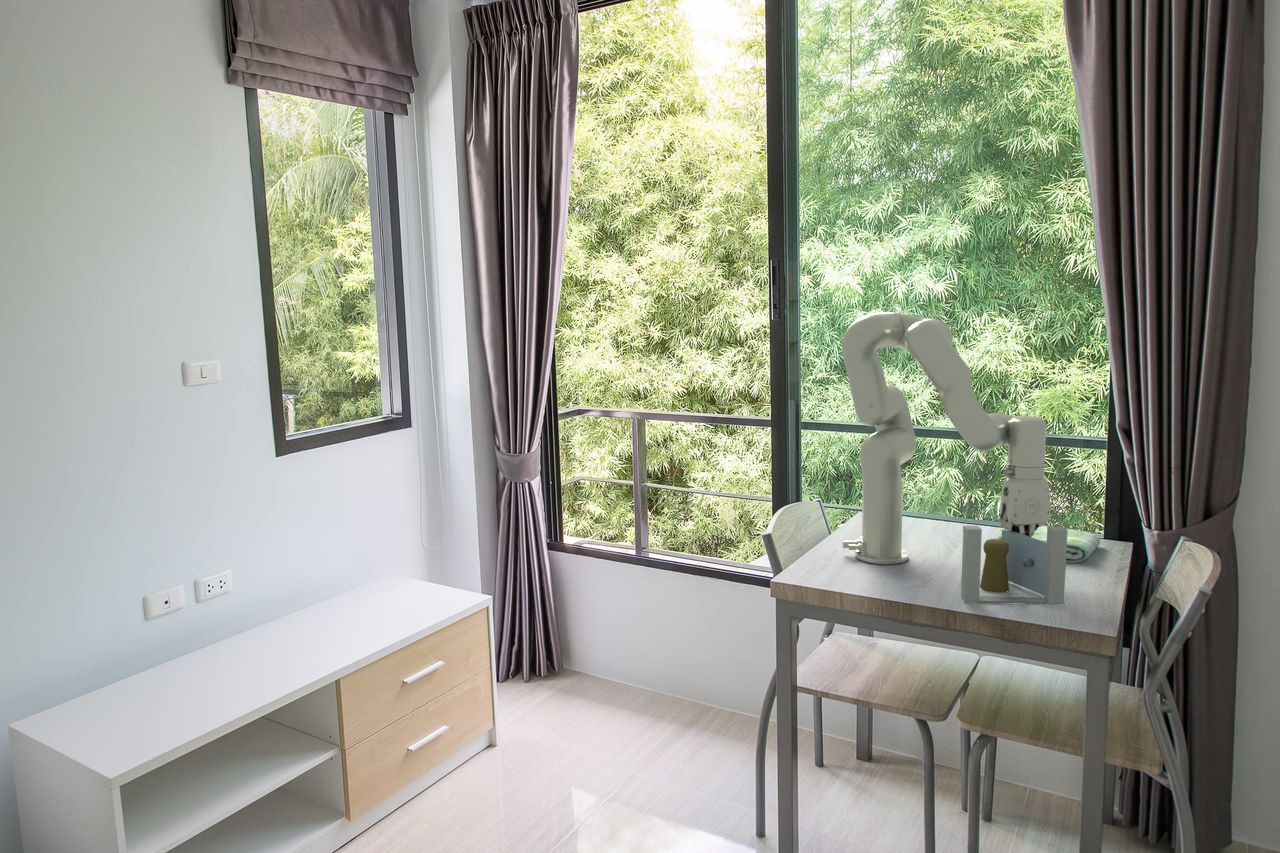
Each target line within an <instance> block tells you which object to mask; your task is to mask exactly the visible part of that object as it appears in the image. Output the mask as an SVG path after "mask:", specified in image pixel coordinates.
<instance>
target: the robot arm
mask: <svg viewBox="0 0 1280 853" xmlns="http://www.w3.org/2000/svg"><path fill="white" fill-rule="evenodd" d="M953 335H954V334H953V332H952V329H951V328H950V326H949V325H948V324H947V323H946V322H944V321H942V320H940V319H937V318H929V317H923V316H916V315H912V314H905V313H900V312H894V311H893V312H891V311H886V312H875V313H870V314H869V313H868V314H866V315H863V316H861V317H859V318H857V319H856V320H855V321H854V322H853V323H851V324H850V326H849V327H848V328H847V330H846V331H845V333H844V336H843V338H842V342H841V343H842V344H841V352H842V353H841V354H842V358H843V363H844V367H845V370H846V375H847V378H848V384H849V388H850V393H851V398H852V402H853V406H854V410H855V415H856V417H857V419H858V421H859V422H860V423H861V424H862V425H864V426H867V427H874V428H875V432H873V433H871V434H869V436H867V437H866V438H865V439H864V441H863V442H862V443H861V447H860V449H859V460H860V462H859V463H860V468H861V478H862V479H861V480H862V483H861V484H862V486H861V487H862V491H861V492H862V511H861V512H862V514H861V516H862V517H861V518H862V520H861V521H862V522H861V527H862V528H861V535H860V536H859V539H855V540H845V539H843V540H842V548H843V549H848V551H855V552H854V555H855V556H854V557H856V559H858V560H860V561H862V562H865V563H869V564H877V565H894V564H900V563H904V562H906V561H908V559H909V554H908V551H906V550H904V549H902V546H903V545H902V544H903V508H904V507H903V504H904V503H903V499H904V497H903V496H904V495H903V494H904V486H903V477H902V471H901V465H902V464H904V463H906V462H908V461H910V460H911V458H913V456H914V455H915V453H916V450H917V438H916V434H915V433H916V432H915V430H914V425H913V421H912V418H911V417H912V416H911V412H910V408H909V404H908V402H907V398H906V396H905V395H904V393H903V392H902V390H901V389H900V388H899V387H897V386H895V385H893V384H888V383H887V381H886V377H885V372H884V369H883V365H882V363H881V361H880V358H879V357H878V350H879V349H884V348H896V349H897V348H898V349H901V350H907V351H908V353H909V354H910V355H911V357H912V358H913V359H914V361H915V362H916V363H917V364H918V366H919V367H920V369H922V371H923V373H924V374H925V375H926V377H927V378H928V379H929V381H930V382H931V383H932V385H933V386H934V387H935V390H936V391H937V392H938V395H939V399H940V402H941V404H942V406H943V408H944V411H945V413H946V415H947V416H948V419H949V421H950V422H951V423H952V425H953V426H954V428H955V429H956V430H957V432H958V433H959V435H960V436H961V438H962V439H963V440H964V441H965V442H966V443H967V444H968V445H969V446H970V447H971V448H973V449H974V450H977V451H980V452H989V451H992V450H993V449H995V448H996V449H997V447H998V448H999V447H1001V446H1006V445H1007V449H1008V450H1007V466H1006V467H1007V468H1004V469H1003V470H1002V472H1003V475H1005V476H1006V477H1005V478H1004V481H1003V484H1002V490H1001V496H1000V503H999V518H1000V520H1001V524H1000V527H1001V528H1002V529H1007V530H1011V531H1014V532H1017V533H1020V534H1023V535H1026V536H1029V537H1032V536H1033V535H1034V532H1035V531H1036V529H1037V528H1038V527H1041V526H1047V525H1046V524H1047V523H1048V522H1049V521H1050V519H1051V492H1050V486H1049V481H1048V479H1047V478H1046V477H1045V466H1046V465H1045V464H1046V463H1045V462H1046V445H1047V444H1046V443H1047V442H1046V440H1047V422H1046V421H1045V419H1044V418H1041V417H1037V416H1032V415H1031V416H1026V415H1021V416H1018V415H1017V416H1016V415H1011V414H1006V413H1001V412H990V413H987V411H986V410H985V409H984V408H983V407H982V404H980V402H979V400H978V399H977V397H976V395H975V393H974V390H973V387H972V372H971V369H970V367H969V366H968V364H967V363H966V362H965V360H964V359H963V358H962V357H961V356H960V354H959V352H958V351H957V350H956V349H955V348H954V346H953V345H952V344H953V340H954V338H953Z"/></svg>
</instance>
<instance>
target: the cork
mask: <svg viewBox="0 0 1280 853" xmlns="http://www.w3.org/2000/svg"><path fill="white" fill-rule="evenodd" d="M983 552H984V554H985V558H984V564H983V569H982V573H981V578H980V589H981V590H982V591H985V592H988V593H993V594H995V593H996V594H1003V592H1005V593H1008V592H1009V591H1010V584H1009V583H1010V582H1009V581H1008V572H1007V562H1006V555H1007V554H1008V552H1009V546H1008V543H1007V542H1006V541H1004V540H1000V539H996V538H990V539H987V540H985V541H984V542H983ZM1007 591H1008V592H1007Z"/></svg>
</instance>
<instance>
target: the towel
mask: <svg viewBox="0 0 1280 853" xmlns="http://www.w3.org/2000/svg"><path fill="white" fill-rule="evenodd" d="M1047 526H1048V525H1044V526H1041V527H1038V528H1037V529H1036V531H1035V532H1034V535H1033V536H1032V538H1035V539H1038V540H1041V541H1044V542H1047ZM1066 529H1067V530H1068V531H1067V550H1066V564H1068V563H1070V564H1071V563H1072V564H1073V563H1080V562H1084V561H1085V560H1087V559H1088V558H1089V557H1090V555H1092V554H1093V553H1094V551H1095V550H1096V549H1097V548H1099V546H1100V544H1101V539H1100V537H1099V536H1097V535H1096V534H1094V533H1091V532H1089V531H1086V530H1080V529H1072V528H1066ZM995 539H1000V540H1002V533H1001V534H1000V535H999V536H997V537H996V538H995Z"/></svg>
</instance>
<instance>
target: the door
mask: <svg viewBox="0 0 1280 853" xmlns="http://www.w3.org/2000/svg"><path fill="white" fill-rule="evenodd" d="M1001 534H1002V540H1004V541H1006V542H1007V543H1008V546H1009V552H1008V554H1007V555H1006V562H1007V572H1008V582H1009V583H1012V584H1015V585H1017V586H1020V587H1023V588H1024V589H1027V590H1029V591H1032V592H1034V593H1037V594H1039V595H1042V596H1044V587H1045V566H1046V545H1047V542H1044V541H1041V540H1038V539H1035V538H1032V537H1029V536H1026V535H1023V534H1020V533H1017V532H1014V531H1011V530H1007V529H1004V528H1002V529H1001Z"/></svg>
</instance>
